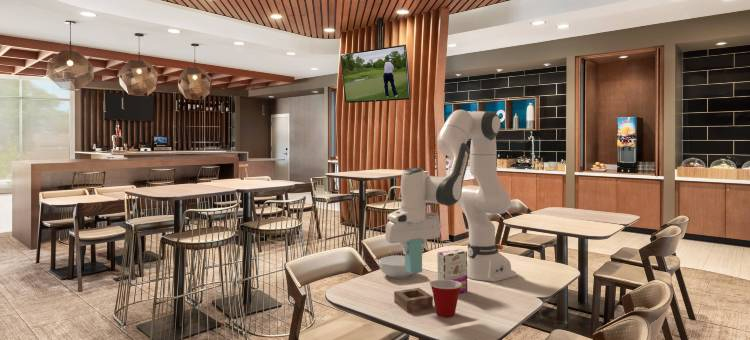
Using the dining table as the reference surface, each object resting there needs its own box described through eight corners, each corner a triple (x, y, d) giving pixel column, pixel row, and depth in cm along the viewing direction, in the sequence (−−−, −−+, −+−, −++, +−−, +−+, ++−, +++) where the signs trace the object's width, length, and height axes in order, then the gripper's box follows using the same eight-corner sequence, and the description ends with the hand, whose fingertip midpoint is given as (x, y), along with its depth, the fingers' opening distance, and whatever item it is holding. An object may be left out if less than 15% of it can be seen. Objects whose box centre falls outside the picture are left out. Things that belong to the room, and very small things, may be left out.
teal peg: (416, 268, 168) (416, 236, 167) (422, 272, 164) (422, 238, 163) (405, 270, 166) (404, 237, 165) (410, 273, 162) (410, 240, 161)
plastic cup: (461, 311, 162) (461, 278, 161) (462, 324, 152) (462, 288, 151) (430, 309, 164) (430, 276, 163) (428, 322, 154) (428, 286, 153)
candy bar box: (459, 288, 186) (460, 248, 184) (467, 292, 181) (468, 251, 180) (436, 293, 181) (436, 251, 179) (444, 297, 176) (444, 254, 175)
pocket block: (419, 300, 173) (419, 287, 172) (432, 310, 163) (432, 296, 163) (394, 304, 169) (394, 291, 168) (406, 315, 160) (406, 301, 159)
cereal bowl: (424, 273, 205) (424, 258, 205) (406, 284, 191) (406, 267, 191) (391, 268, 214) (391, 253, 214) (371, 277, 200) (371, 261, 200)
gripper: (434, 210, 170) (434, 247, 171) (383, 215, 162) (383, 254, 164) (443, 213, 164) (443, 251, 166) (390, 218, 156) (391, 258, 158)
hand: (413, 252), depth 165 cm, fingers closed on teal peg, 4 cm apart
